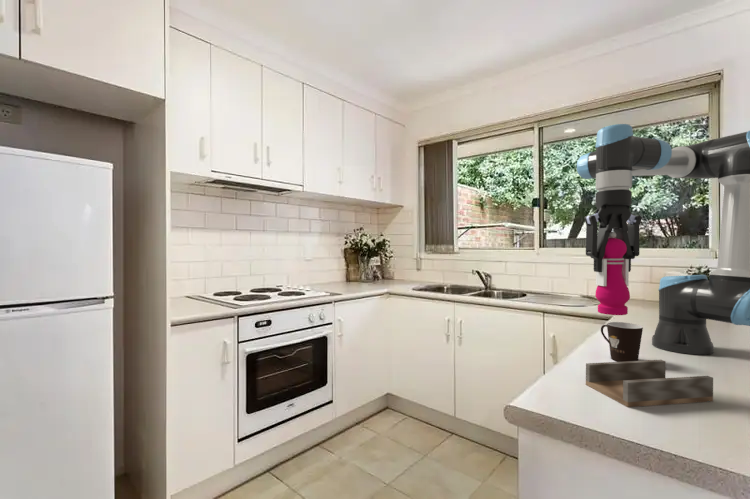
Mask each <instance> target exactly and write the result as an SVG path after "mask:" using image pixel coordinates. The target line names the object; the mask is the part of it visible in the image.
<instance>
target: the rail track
mask: <svg viewBox="0 0 750 499" xmlns="http://www.w3.org/2000/svg"><path fill="white" fill-rule="evenodd" d="M666 362H667V361H666V360H663V359H649V360H647V359H646V360H638V361H625V362H617V361H611V362H610V361H608V362H588V363H585V385H586V386H588V387H589V388H592V389H593V390H595V391H597V392H599V393H601V394H602V395H605V397H608V398H610V399H612V400H614V401H615V402H617V403H619V404H621V405H623V406H625V407H627V408H632V407H633V408H634V407H649V406H651V407H652V406H663V405H676V404H691V403H692V404H693V403H708V402H707V401H710V402H714V377H713V376H710V375H701V376H700V375H697V376H681V377H678V376H677V377H666V366H667V364H666Z"/></svg>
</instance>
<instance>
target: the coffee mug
mask: <svg viewBox="0 0 750 499" xmlns="http://www.w3.org/2000/svg"><path fill="white" fill-rule="evenodd" d="M604 328H607V336H606V335H605V333H604ZM643 330H644V326H643V325H640V324H637V323H632V322H623V321H608V322H606V324H603V325H601V327H600V333H601V335H602V337H603V338H604V340H605V341H606V342H607V343H608V344H609V346H608V347H609V353H610V359H611V360H612V361H613V362H625V361H639V356H640V348H641V344H642V343H641V342H642V338H643V337H642V336H643Z"/></svg>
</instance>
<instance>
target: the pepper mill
mask: <svg viewBox="0 0 750 499" xmlns="http://www.w3.org/2000/svg"><path fill="white" fill-rule="evenodd" d="M626 251H627V247H626V244H625V242H624V241H622V240H620V239H617V238H616V233H615V232H614V231H611V232H610V234H609V238H608V242H607V244H606V248H605V254H604V257H603V259H607V282H606V286H599V285H596V288H595V299H597V301H598V302H599V304H598V305H597V312H598V313H600V314H603V315H609V316H626V315H628V312H629V310H628V309H629V307H628V306H627V305H626V304H627V303H628V302H629V301H630V298H631V294H630V290H629V288H628V286H627V285H626V283H625V281H624V279H623V276H622V264H624V258H622V257H623V255H624V254H625V253H626Z"/></svg>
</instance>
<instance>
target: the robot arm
mask: <svg viewBox="0 0 750 499" xmlns="http://www.w3.org/2000/svg"><path fill="white" fill-rule="evenodd" d="M633 130H634V129H633V127H632V126H631V125H630V124H627V123H617V124H611V125H610V124H609V125H607V126H604V127H602V128H600V129H599V130H597V133H596V142H595V150H594V151H589V152H588V153H585V154H583V155H581V156H580V157H579V158H578V160H577V163H576V171H577V173H578V175H579V177H581V178H582V179H584V180H589V179H590V180H593V179H595V190H596V193H595V200H594V201H595V204H594V206H595V207H596V211H595V213H594V214H591V215H586V216H584V223H585V225H586V226H585V227H586V228H585V229H586V231H585V232H586V234H585V256H587V257H590V258H591V259H593V272H594V273H595V285H596V286H598V285H599V286H606V282H607V259H603V257H604V254H605V248H606V244H607V242H608V238H609V234H610V232H615V233H616V237H615V238H617V239H620V240H622V241H624V242H625V244H626V247H627V251H626V253H625V254H624V255H623V257H622V258H624V264H622V276H623V279H624V281H625V283H626V285H627V287H628V286H629V275H630V274H629V273H630V272H631V271H632V260H634V259H635V258H636V257H639V256H640V224H641V222H642V219H643V218H642V216H641V215H634V214H632V212H631V210H630V207H631V205H632V203H633V202H632V198H633V192H632V190H630V189H631V188H632V187H633V176H634V177H639V176H641V177H643V176H644V177H645V176H668V177H669V178H672V179H703V180H704V179H717V182H718V183H719V184H721V185H722V186H723V188H724V189H723V197H722V208H721V209H722V211H721V223H720V231H719V233H720V235H719V246H718V255H717V266H716V267H717V268H716V269H715V270H713V271H712V272H710V273H709V278H708V276H707V275H706V274H691V275H690V274H689V275H667V276H666V275H665V276H663V277H661V278H660V280H659V286H658V287H659V288H658V323H657V324H656V325H657V326H656V327H655V330H654V334H653V335H652V337H651V345H652V346H653V347H656V348H658V349H661V350H665V351H668V352H674V353H680V354H689V355H710V354H711V355H712V354H713V353H714V348H715V347H714V342H712V339H711V336H710V333H709V330H708V328H707V320H710V321H716V322H721V323H728V324H733V325H735V326H747V327H750V130H748V131H745V132H740V133H736V134H731V135H727V136H723V137H718V138H712V139H709V140H704V141H702V142H698V143H694V144H690V145H684V146H683V145H682V146H675V147H673V148H672V147H671V144H669V142H667V141H665V140H662V139H658V138H654V137H653V138H652V137H651V138H647V137H641V136H639V137H638V136H634V132H633ZM598 223H599V224H598Z"/></svg>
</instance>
